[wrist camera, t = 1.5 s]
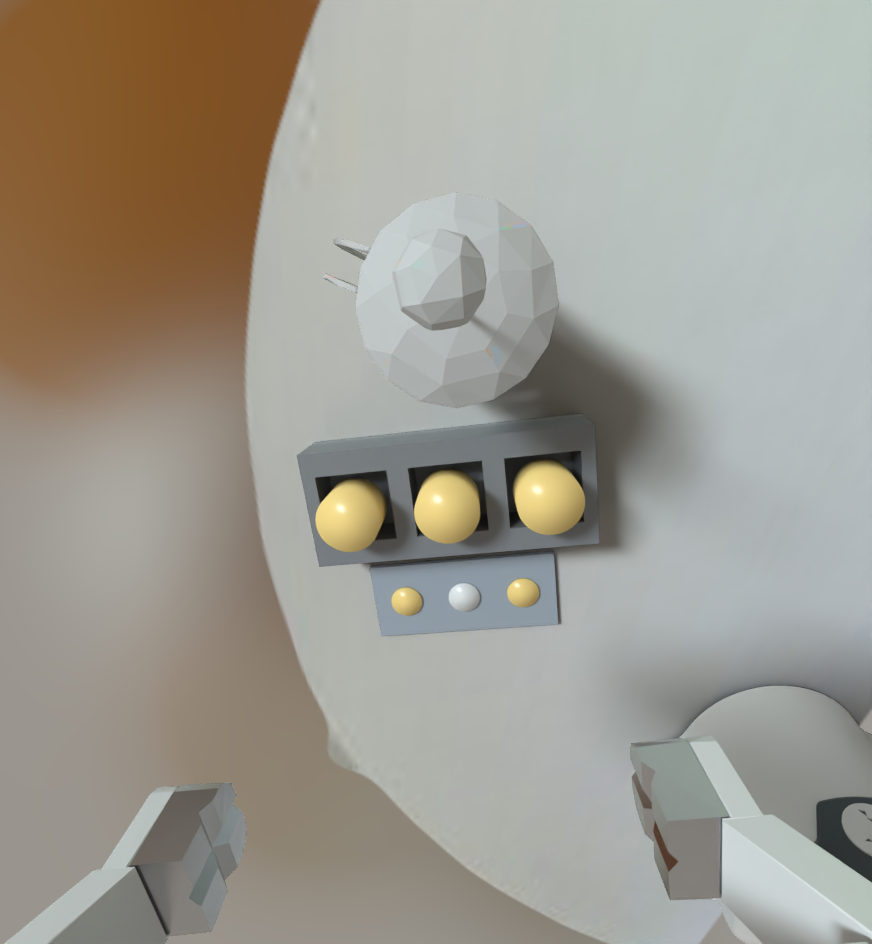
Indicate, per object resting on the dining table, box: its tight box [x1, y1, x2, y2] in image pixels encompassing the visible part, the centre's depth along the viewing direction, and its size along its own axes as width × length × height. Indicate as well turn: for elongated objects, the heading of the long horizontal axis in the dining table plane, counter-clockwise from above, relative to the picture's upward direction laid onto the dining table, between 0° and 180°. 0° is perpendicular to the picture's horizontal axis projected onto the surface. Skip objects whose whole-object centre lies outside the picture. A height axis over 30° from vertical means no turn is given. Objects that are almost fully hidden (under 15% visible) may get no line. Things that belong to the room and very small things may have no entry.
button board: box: [297, 413, 599, 636], centre depth 35 cm, size 16×19×4 cm
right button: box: [513, 459, 585, 535], centre depth 31 cm, size 4×4×3 cm
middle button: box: [414, 468, 480, 544], centre depth 31 cm, size 4×4×3 cm
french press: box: [323, 192, 559, 408], centre depth 21 cm, size 10×12×25 cm
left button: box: [315, 478, 387, 552], centre depth 32 cm, size 4×4×3 cm
